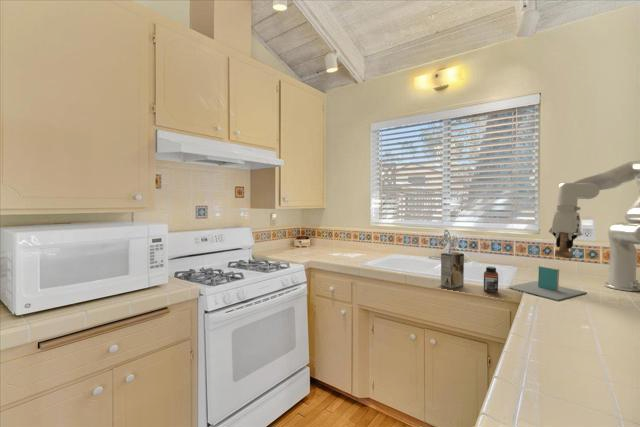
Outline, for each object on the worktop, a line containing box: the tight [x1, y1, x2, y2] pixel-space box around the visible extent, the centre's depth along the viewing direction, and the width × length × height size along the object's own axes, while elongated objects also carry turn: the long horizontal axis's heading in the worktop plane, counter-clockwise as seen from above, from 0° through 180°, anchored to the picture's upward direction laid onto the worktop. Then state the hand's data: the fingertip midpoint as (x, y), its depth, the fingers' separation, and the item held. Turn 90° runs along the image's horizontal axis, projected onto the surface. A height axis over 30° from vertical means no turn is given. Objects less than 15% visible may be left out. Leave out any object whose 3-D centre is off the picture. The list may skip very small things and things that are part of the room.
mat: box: [507, 280, 588, 302], centre depth 150 cm, size 22×24×1 cm
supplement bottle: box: [483, 266, 499, 294], centre depth 149 cm, size 6×6×11 cm
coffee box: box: [440, 251, 465, 289], centre depth 159 cm, size 9×6×16 cm
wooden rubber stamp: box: [554, 232, 574, 260], centre depth 153 cm, size 6×4×13 cm, turn 28°
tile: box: [537, 265, 560, 291], centre depth 151 cm, size 8×2×10 cm, turn 27°
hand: (564, 247), depth 153 cm, fingers closed on wooden rubber stamp, 3 cm apart
